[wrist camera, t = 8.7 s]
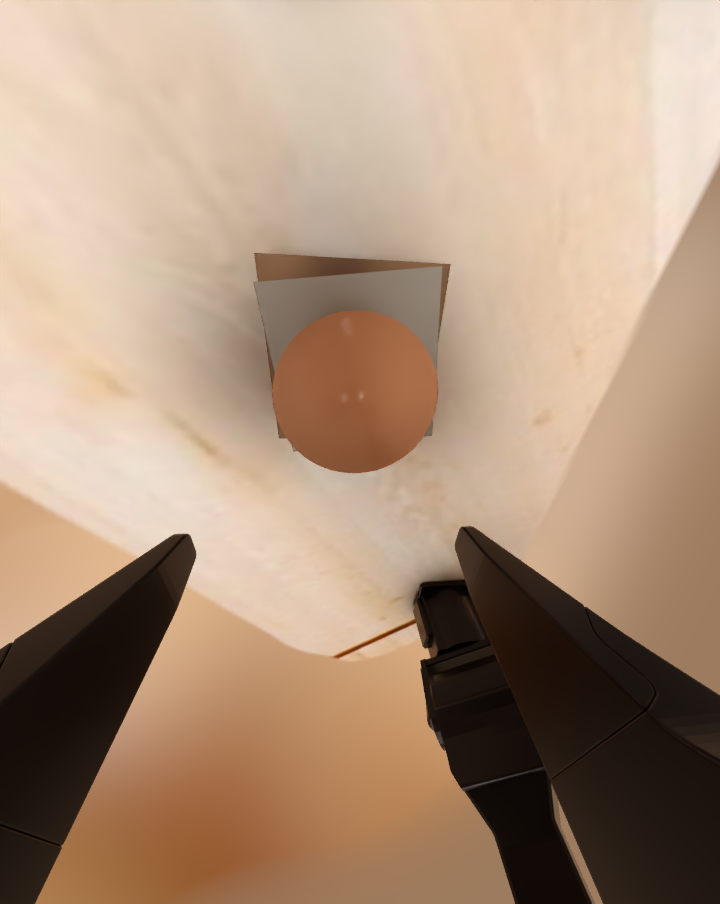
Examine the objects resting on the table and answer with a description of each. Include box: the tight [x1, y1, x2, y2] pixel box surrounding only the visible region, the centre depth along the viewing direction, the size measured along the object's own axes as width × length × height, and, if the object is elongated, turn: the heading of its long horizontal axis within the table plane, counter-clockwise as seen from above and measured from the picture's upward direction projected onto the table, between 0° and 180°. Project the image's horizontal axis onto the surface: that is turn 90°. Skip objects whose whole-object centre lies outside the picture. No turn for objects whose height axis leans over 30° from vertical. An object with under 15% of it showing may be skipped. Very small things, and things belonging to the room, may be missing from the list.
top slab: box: [254, 266, 442, 451], centre depth 14 cm, size 8×8×3 cm
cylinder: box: [273, 310, 438, 473], centre depth 11 cm, size 6×6×4 cm
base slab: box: [254, 253, 451, 438], centre depth 17 cm, size 10×10×3 cm
